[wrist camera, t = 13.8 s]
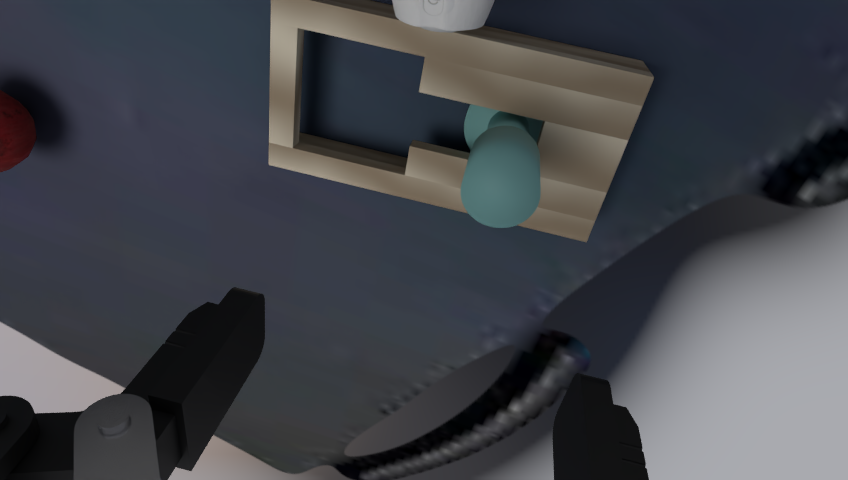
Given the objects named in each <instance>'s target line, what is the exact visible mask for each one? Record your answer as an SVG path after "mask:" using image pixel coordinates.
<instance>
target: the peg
mask: <svg viewBox="0 0 848 480" xmlns="http://www.w3.org/2000/svg"><path fill="white" fill-rule="evenodd" d="M542 123H543V121H542V120H537V119H533V118H529V117H524V116H520V115H516V114H512V113H507V112H503V111H499V110H494V109H490V108H486V107H481V106H477V105H473V104H470V106H469V108H468V111H467V114H466V118H465V123H464V134H465V139H466V142H467V145H468V147H469V148H470V150H471V151H470V154H469V158H468V162H467V165H466V169H465V173H464V176H463V180H462V184H461V200H462V203H463V205H464V207H465V209H466V211H467V212H468V213H469V214H470V215H471V216H472V217H473V218H474V219H475V220H476V221H478V222H480V223H482V224H484V225H486V226H490V227H494V228H508V227H512V226H516V225H518V224H520V223H522V222H524V221H525V220H527V219H528V218H529V217H530V216H531V215H532V214H533V213H534V212H535V210H536V208H537V207H538V204H539V201H540V195H541V185H540V153H539V149H538V146H537V144H536V143H537V139H538V136H539V133H540V130H541V127H542Z"/></svg>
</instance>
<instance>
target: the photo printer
mask: <svg viewBox="0 0 848 480" xmlns="http://www.w3.org/2000/svg"><path fill="white" fill-rule="evenodd" d="M494 1H495V0H392V2H393V8H394V12H395V16H396V17H397V18H398V19H399V20H400V21H402V22H404V23H406V24H409V25H412V26H415V27H421V28H423V29H425V30H429V31H434V32H449V33H452V32H456V31H464V30H472V29H477V28H480V27H482V26H483V25H484V23H485V21H486V19H487V17H488V15H489V13H490V10H491V8H492V6H493V4H494Z"/></svg>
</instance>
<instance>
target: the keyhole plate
mask: <svg viewBox="0 0 848 480" xmlns="http://www.w3.org/2000/svg"><path fill="white" fill-rule="evenodd" d="M304 29H305V30H309V31H314V32H318V33H322V34H327V35H331V36H336V37H340V38H344V39H349V40H353V41H358V42H362V43H366V44H371V45H375V46H379V47H384V48H388V49H393V50H397V51H401V52H406V53H410V54H415V55H419V56H423V57H425V60H424V66H423V71H422V77H421V83H420V89H419V92H421V93H425V94H429V95H434V96H438V97H442V98H447V99H451V100H455V101H460V102H464V103H468V104H473V105H477V106H481V107H486V108H490V109H494V110H499V111H503V112H507V113H512V114H516V115H520V116H524V117H529V118H533V119H537V120H542V121H543V123H542V127H541V130H540V133H539V136H538V139H537V143H536V144H537V146H538V149H539V153H540V185H541V195H540V201H539V204H538V207H537V208H536V210H535V212H534V213H533V214H532V215H531V216H530V217H529V218H528V219H527V220H525V221H524V222H522V223H520V224H518V226H522V227H526V228H530V229H534V230H539V231H543V232H547V233H551V234H555V235H559V236H563V237H567V238H571V239H575V240H580V241H584V242H587V240H588V237H589V235H590V232H591V230H592V227H593V225H594V223H595V220H596V218H597V215H598V213H599V210H600V208H601V206H602V203H603V201H604V198H605V196H606V193H607V191H608V189H609V186H610V184H611V181H612V179H613V177H614V174H615V172H616V169H617V167H618V164H619V162H620V160H621V157H622V155H623V152H624V150H625V147H626V145H627V143H628V140H629V138H630V135H631V133H632V130H633V128H634V126H635V123H636V121H637V118H638V116H639V113H640V111H641V109H642V106H643V104H644V101H645V99H646V97H647V94H648V92H649V89H650V87H651V84H652V82H653V80H654V76H653V75H652V73H651V72H650V71H649V69H648V68H647V66H646V65H645V64H644V62H643V61H641V60H637V59H632V58H628V57H623V56H619V55H614V54H610V53H605V52H601V51H596V50H592V49H587V48H583V47H578V46H574V45H569V44H565V43H560V42H556V41H551V40H547V39H542V38H538V37H533V36H529V35H524V34H520V33H515V32H511V31H506V30H502V29H497V28H493V27H488V26H484V25H483V26H482V27H480V28H477V29H472V30H464V31H456V32H452V33H449V32H434V31H429V30H425V29H423V28H421V27H415V26H412V25H409V24H406V23H404V22H402V21H400V20H399V19H398V18H397V17H396V16H395V12H394V8H393V5H389V4H385V3H381V2H376V1H372V0H271V37H270V109H269V165H272V166H276V167H280V168H284V169H288V170H292V171H296V172H301V173H305V174H309V175H313V176H317V177H321V178H325V179H329V180H333V181H337V182H342V183H346V184H350V185H354V186H358V187H362V188H366V189H370V190H374V191H379V192H383V193H387V194H391V195H395V196H399V197H403V198H407V199H411V200H415V201H420V202H424V203H428V204H432V205H436V206H440V207H444V208H448V209H452V210H456V211H461V212H465V213H468V212H467V211H466V209H465V207H464V205H463V203H462V200H461V184H462V180H463V176H464V173H465V169H466V165H467V162H468V158H469V154H470V153H467V152H463V151H458V150H454V149H450V148H446V147H441V146H437V145H433V144H429V143H425V142H420V141H416V140H413V141H412V143H411V145H410V147H409V153H408V158H405V157H401V156H397V155H392V154H388V153H384V152H380V151H376V150H371V149H367V148H363V147H359V146H355V145H351V144H346V143H342V142H338V141H334V140H330V139H325V138H321V137H317V136H313V135H309V134H305V133H300V132H299V129H300V108H301V87H302V65H303V44H304Z"/></svg>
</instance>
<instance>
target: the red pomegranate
mask: <svg viewBox="0 0 848 480" xmlns="http://www.w3.org/2000/svg"><path fill="white" fill-rule="evenodd" d="M35 141H36V129H35V124H34V120H33V118H32V116H31V115H30V113H29V111H28V110H27V109H26V108H25V107H24V106H23V105H22V104H21V103H20V102H19V101H17V100H16V99H14V98H13V97H11V96H9V95H8V94H6V93H4V92H3V91H1V90H0V172H3V171H6V170H9V169H11V168H12V167H14V166H15V165H17V164H18V163H20V162H21V161H23V160H24V159H25V158H27V157H28V156H29V154H30V152H31V150H32V148H33V146H34V143H35Z"/></svg>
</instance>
